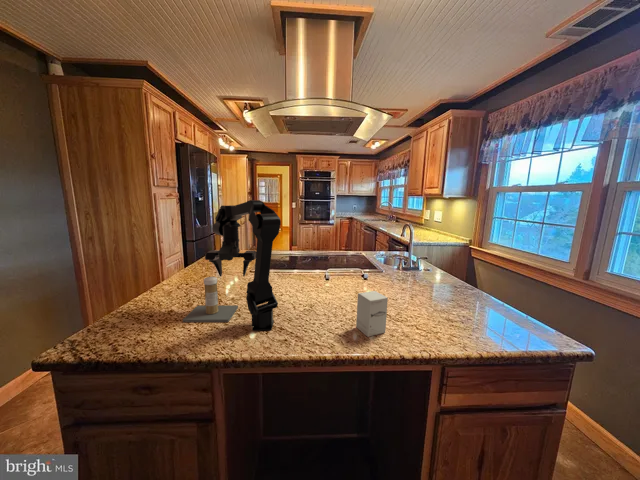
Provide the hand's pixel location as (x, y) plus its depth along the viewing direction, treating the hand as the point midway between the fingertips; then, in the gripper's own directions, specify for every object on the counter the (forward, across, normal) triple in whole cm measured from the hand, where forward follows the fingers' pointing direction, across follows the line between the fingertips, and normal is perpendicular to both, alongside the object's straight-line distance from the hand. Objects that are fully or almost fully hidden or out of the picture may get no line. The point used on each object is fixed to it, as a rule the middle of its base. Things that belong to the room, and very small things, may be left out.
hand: (232, 276), depth 99 cm
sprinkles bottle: (+12, -6, -7) cm, 15 cm away
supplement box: (+13, +52, -19) cm, 57 cm away
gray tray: (+13, -6, -7) cm, 16 cm away
